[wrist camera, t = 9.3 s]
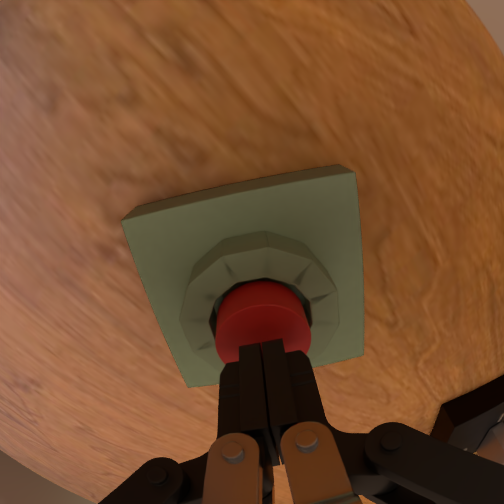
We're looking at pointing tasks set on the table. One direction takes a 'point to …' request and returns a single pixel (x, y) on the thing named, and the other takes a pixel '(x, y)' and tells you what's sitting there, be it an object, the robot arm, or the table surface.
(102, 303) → the table surface
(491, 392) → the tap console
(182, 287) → the switch
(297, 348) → the button
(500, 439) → the rotary knob
